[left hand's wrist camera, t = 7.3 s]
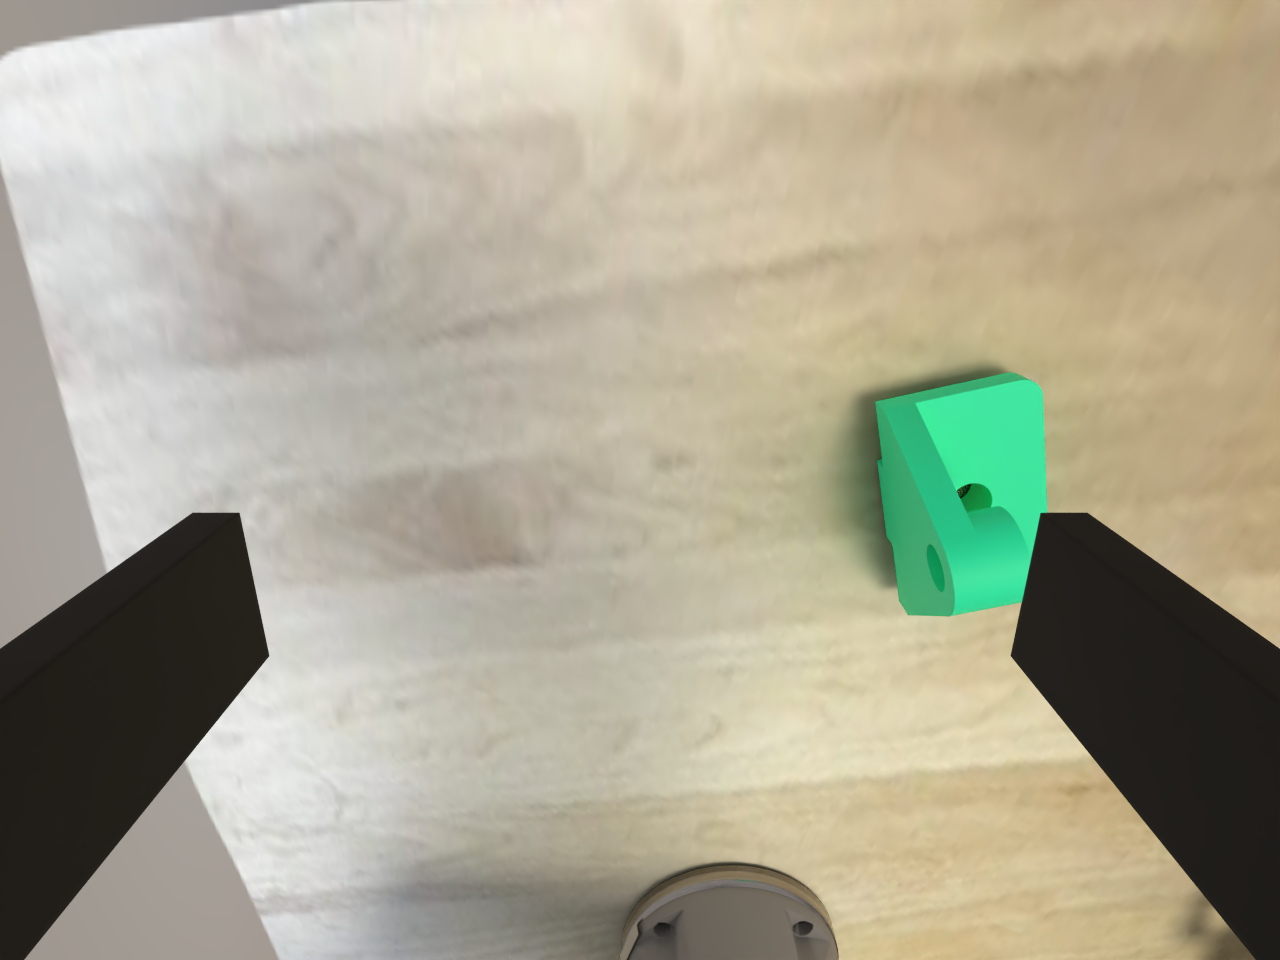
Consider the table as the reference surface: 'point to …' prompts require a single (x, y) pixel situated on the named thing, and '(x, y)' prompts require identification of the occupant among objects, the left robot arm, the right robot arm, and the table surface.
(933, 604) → the camera mount
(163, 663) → the left robot arm
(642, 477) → the table surface
